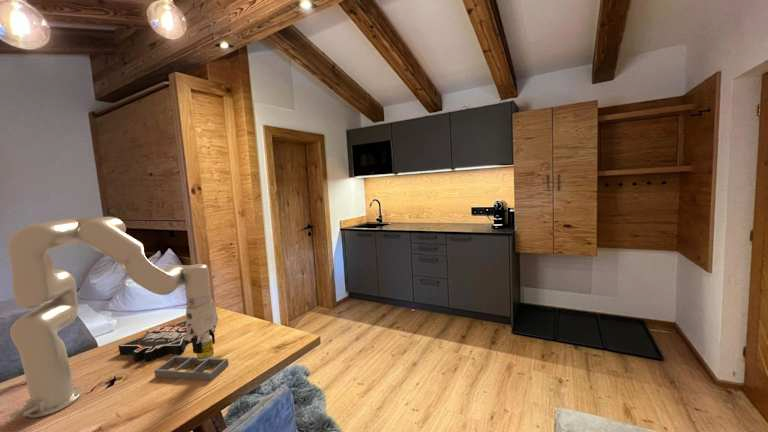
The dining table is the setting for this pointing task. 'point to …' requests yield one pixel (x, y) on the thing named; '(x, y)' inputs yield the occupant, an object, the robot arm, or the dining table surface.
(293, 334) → the dining table surface
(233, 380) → the dining table surface
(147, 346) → the wall plaque
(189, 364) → the slot rack
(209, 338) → the supplement bottle
